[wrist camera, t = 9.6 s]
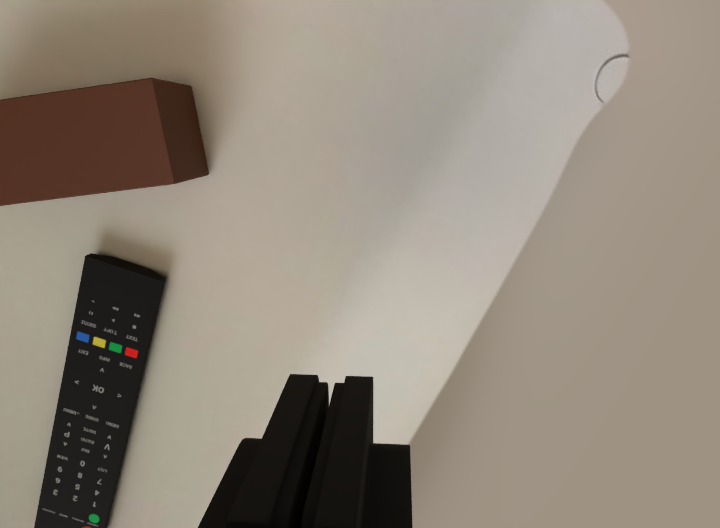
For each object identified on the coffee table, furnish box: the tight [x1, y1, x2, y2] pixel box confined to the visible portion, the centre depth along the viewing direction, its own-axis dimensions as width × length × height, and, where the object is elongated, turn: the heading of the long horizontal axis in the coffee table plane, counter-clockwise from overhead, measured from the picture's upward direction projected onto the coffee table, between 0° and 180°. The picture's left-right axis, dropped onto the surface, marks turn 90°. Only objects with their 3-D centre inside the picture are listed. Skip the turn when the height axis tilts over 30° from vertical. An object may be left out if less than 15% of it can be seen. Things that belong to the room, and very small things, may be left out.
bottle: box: [0, 78, 209, 206], centre depth 31 cm, size 6×6×18 cm
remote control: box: [34, 254, 166, 528], centre depth 38 cm, size 5×24×1 cm, turn 162°
